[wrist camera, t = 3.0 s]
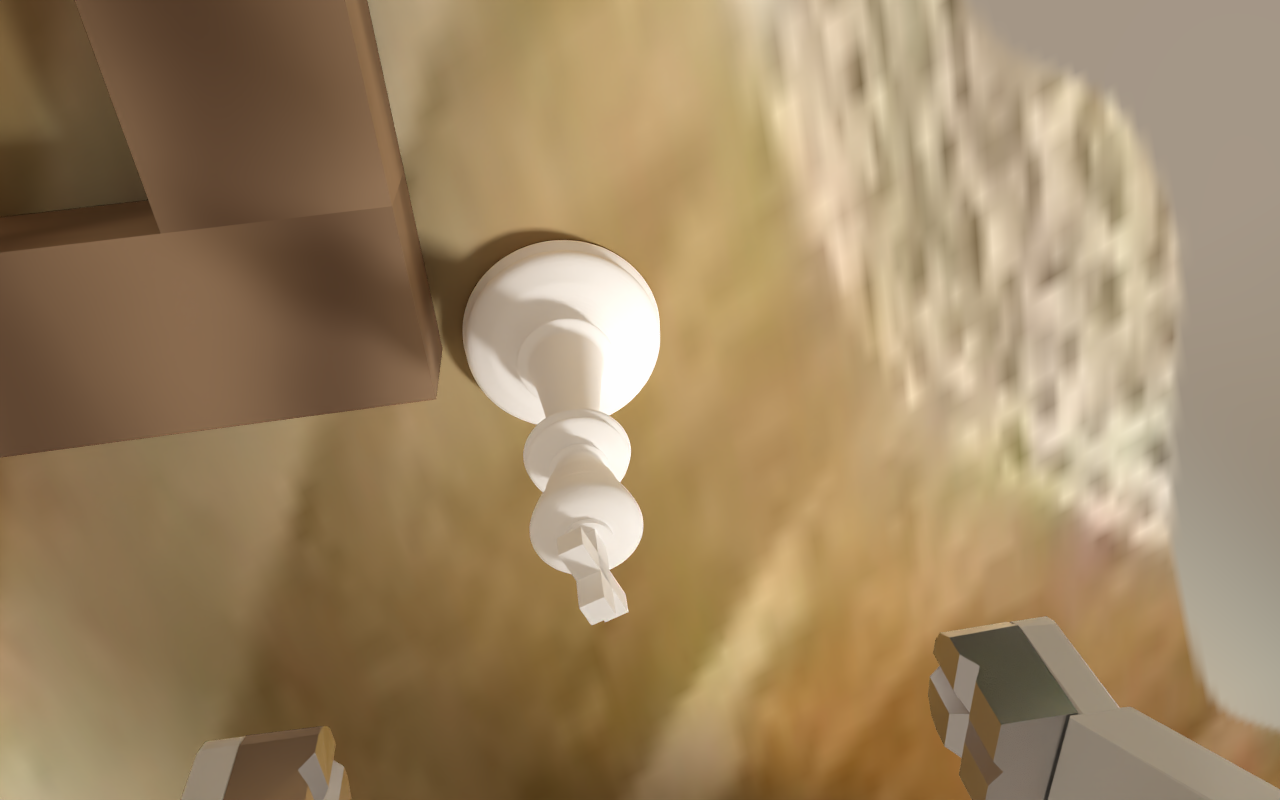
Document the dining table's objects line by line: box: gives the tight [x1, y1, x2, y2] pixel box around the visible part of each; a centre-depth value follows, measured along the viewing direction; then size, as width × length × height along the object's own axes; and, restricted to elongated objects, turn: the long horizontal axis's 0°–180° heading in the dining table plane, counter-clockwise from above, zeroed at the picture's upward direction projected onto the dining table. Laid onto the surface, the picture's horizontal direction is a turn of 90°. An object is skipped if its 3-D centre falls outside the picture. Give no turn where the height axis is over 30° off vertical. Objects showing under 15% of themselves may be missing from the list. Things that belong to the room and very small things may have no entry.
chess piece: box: [462, 240, 660, 625], centre depth 18 cm, size 5×5×10 cm
